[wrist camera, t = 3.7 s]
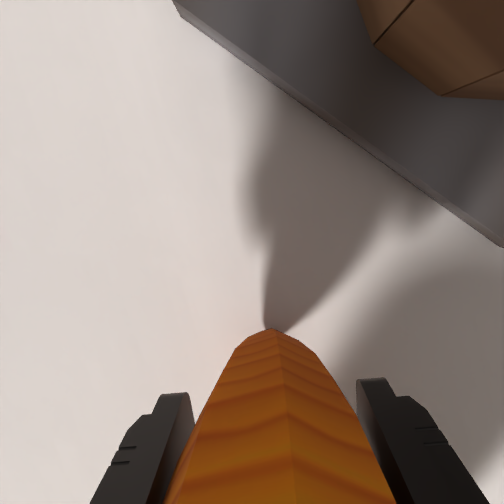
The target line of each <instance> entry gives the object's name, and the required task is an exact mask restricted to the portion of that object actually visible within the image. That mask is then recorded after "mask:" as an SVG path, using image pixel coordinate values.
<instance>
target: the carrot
mask: <svg viewBox="0 0 504 504" xmlns="http://www.w3.org/2000/svg"><path fill="white" fill-rule="evenodd" d="M162 504H396V501H395V499H394V497H393V494H392V492H391V490H390V488H389V486H388V484H387V481H386V479H385V477H384V475H383V473H382V470H381V468H380V466H379V464H378V462H377V459H376V457H375V455H374V453H373V451H372V448H371V446H370V444H369V442H368V440H367V437H366V435H365V433H364V431H363V429H362V426H361V424H360V422H359V420H358V418H357V415H356V414H355V412H354V411H353V409H352V408H351V406H350V404H349V403H348V401H347V400H346V398H345V396H344V395H343V393H342V392H341V390H340V388H339V387H338V385H337V384H336V382H335V380H334V379H333V377H332V376H331V375H330V373H329V372H328V370H327V369H326V368H325V366H324V365H323V364H322V362H321V361H320V359H319V358H318V357H317V355H316V354H315V353H314V352H313V351H311V350H310V349H309V348H308V347H306V346H305V345H304V344H303V343H301V342H300V341H299V340H297V339H294V338H292V337H290V336H288V335H286V334H284V333H281V332H279V331H277V330H275V329H273V328H271V329H267V330H264V331H261V332H258V333H256V334H254V335H252V336H249V337H248V338H247V339H245V340H244V341H243V342H242V343H241V344H240V345H239V346H238V347H237V348H235V350H234V352H233V354H232V356H231V357H230V359H229V361H228V363H227V365H226V366H225V368H224V370H223V372H222V374H221V376H220V378H219V380H218V381H217V383H216V385H215V387H214V389H213V391H212V393H211V395H210V397H209V399H208V401H207V402H206V404H205V406H204V408H203V410H202V412H201V414H200V416H199V418H198V420H197V422H196V424H195V426H194V428H193V430H192V432H191V434H190V437H189V439H188V441H187V443H186V445H185V447H184V449H183V451H182V453H181V455H180V457H179V459H178V461H177V464H176V467H175V469H174V472H173V475H172V478H171V481H170V483H169V486H168V489H167V492H166V494H165V497H164V500H163V503H162Z"/></svg>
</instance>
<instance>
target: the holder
mask: <svg viewBox="0 0 504 504" xmlns="http://www.w3.org/2000/svg"><path fill="white" fill-rule="evenodd" d="M172 1H173V3H174V5H175V7H176V9H177V11H178V12H179V14H180V16H181V17H182V18H183V19H185V20H186V21H187V22H189V23H190V24H192V25H193V26H194V27H196V28H197V29H199V30H200V31H201V32H203V33H204V34H205V35H207V36H208V37H210V38H211V39H212V40H214V41H215V42H217V43H218V44H219V45H221V46H222V47H223V48H225V49H226V50H228V51H229V52H230V53H232V54H233V55H235V56H236V57H237V58H239V59H240V60H241V61H243V62H244V63H246V64H247V65H248V66H250V67H251V68H253V69H254V70H255V71H257V72H258V73H259V74H261V75H262V76H264V77H265V78H266V79H268V80H269V81H271V82H272V83H273V84H275V85H276V86H277V87H279V88H280V89H282V90H283V91H284V92H286V93H287V94H289V95H290V96H291V97H293V98H294V99H296V100H297V101H298V102H300V103H301V104H302V105H304V106H305V107H307V108H308V109H309V110H311V111H312V112H314V113H315V114H316V115H318V116H319V117H320V118H322V119H323V120H325V121H326V122H327V123H329V124H330V125H332V126H333V127H334V128H336V129H337V130H338V131H340V132H341V133H343V134H344V135H345V136H347V137H348V138H350V139H351V140H352V141H354V142H355V143H356V144H358V145H359V146H361V147H362V148H363V149H365V150H366V151H368V152H369V153H370V154H372V155H373V156H374V157H376V158H377V159H379V160H380V161H381V162H383V163H384V164H386V165H387V166H388V167H390V168H391V169H392V170H394V171H395V172H397V173H398V174H399V175H401V176H402V177H404V178H405V179H406V180H408V181H409V182H411V183H412V184H413V185H415V186H416V187H417V188H419V189H420V190H422V191H423V192H424V193H426V194H427V195H429V196H430V197H431V198H433V199H434V200H435V201H437V202H438V203H440V204H441V205H442V206H444V207H445V208H447V209H448V210H449V211H451V212H452V213H453V214H455V215H456V216H458V217H459V218H460V219H462V220H463V221H465V222H466V223H467V224H469V225H470V226H471V227H473V228H474V229H476V230H477V231H478V232H480V233H481V234H483V235H484V236H485V237H487V238H488V239H489V240H491V241H492V242H494V243H495V244H496V245H498V246H500V247H503V248H504V0H172Z"/></svg>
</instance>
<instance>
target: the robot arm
mask: <svg viewBox="0 0 504 504" xmlns="http://www.w3.org/2000/svg"><path fill="white" fill-rule="evenodd" d="M356 394H357V418H358V420H359V422H360V424H361V426H362V429H363V431H364V433H365V435H366V437H367V440H368V442H369V444H370V446H371V448H372V451H373V453H374V455H375V457H376V459H377V462H378V464H379V466H380V468H381V470H382V473H383V475H384V477H385V479H386V481H387V484H388V486H389V488H390V490H391V492H392V494H393V497H394V499H395V501H396V504H490V503H489V502H488V500H487V499H486V497H485V496H484V494H483V493H482V491H481V490H480V488H479V487H478V485H477V484H476V483H475V481H474V480H473V478H472V477H471V475H470V474H469V472H468V471H467V469H466V468H465V466H464V465H463V463H462V462H461V460H460V459H459V457H458V456H457V454H456V453H455V451H454V450H453V448H452V447H451V445H449V444H448V441H447V439H446V438H445V436H444V435H443V433H442V432H441V430H439V429H438V426H437V425H436V423H435V422H434V420H433V419H432V417H431V416H430V414H429V413H428V411H427V410H426V409H425V408H424V407H423V406H421V405H420V404H419V403H417V402H416V401H415V400H414V399H412V398H411V397H410V396H400V397H396V395H395V394H394V392H393V390H392V388H391V387H390V385H389V383H388V382H387V380H386V379H385V378H371V379H358V380H357V381H356ZM194 426H195V422H194V417H193V412H192V406H191V401H190V397H189V394H188V393H187V392H184V393H171V394H162V395H160V397H159V399H158V401H157V403H156V405H155V407H154V410H153V412H152V414H148V415H142V416H141V417H140V418H139V419H138V420H137V421H136V422H135V423H134V424H133V425H132V426H131V427H130V428H129V429H128V430H127V432H126V434H125V436H124V438H123V440H122V442H121V444H120V446H119V450H118V451H117V452H116V453H115V455H114V457H113V459H112V461H111V466H109V467H108V469H107V471H106V473H105V475H104V477H103V479H102V480H101V482H100V484H99V486H98V488H97V490H96V492H95V494H94V496H93V498H92V500H91V502H90V504H162V503H163V500H164V497H165V494H166V492H167V489H168V486H169V483H170V481H171V478H172V475H173V472H174V469H175V467H176V464H177V461H178V459H179V457H180V455H181V453H182V451H183V449H184V447H185V445H186V443H187V441H188V439H189V437H190V434H191V432H192V430H193V428H194Z"/></svg>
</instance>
